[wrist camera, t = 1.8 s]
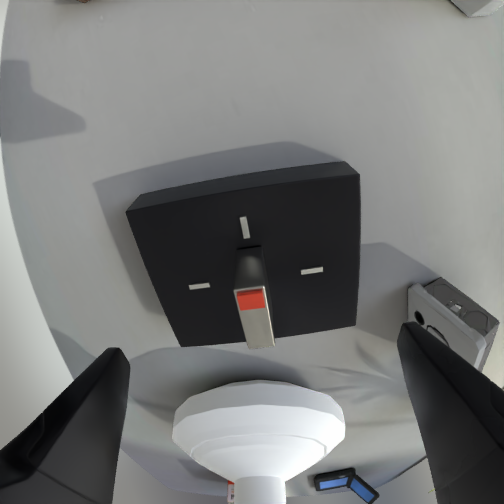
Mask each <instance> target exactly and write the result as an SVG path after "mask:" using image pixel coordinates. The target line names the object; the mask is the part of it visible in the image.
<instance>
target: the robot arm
mask: <svg viewBox="0 0 504 504" xmlns="http://www.w3.org/2000/svg"><path fill="white" fill-rule="evenodd" d="M397 347H398V352H399V356H400V360H401V364H402V369H403V373H404V378H405V383H406V387H407V390H408V394H409V397H410V400H411V403H412V406H413V409H414V412H415V416H416V419H417V422H418V426H419V429H420V433H421V436H422V440H423V443H424V447H425V451H426V454H427V458H428V462H429V466H430V470H431V474H432V478H433V483H434V488H435V491H436V498H437V503H438V504H504V391H503V390H502V389H501V388H500V387H498V386H497V385H496V384H495V383H494V382H492V381H490V379H489V378H487V377H486V376H485V375H484V374H482V373H481V372H480V371H479V370H477V369H476V368H475V367H474V366H472V365H471V364H470V363H469V362H467V361H466V360H465V359H464V358H462V357H461V356H460V355H459V354H457V353H456V352H455V351H454V350H452V349H451V348H450V347H448V346H447V345H446V344H445V343H443V342H442V341H441V340H439V339H438V338H437V337H435V336H434V335H433V334H432V333H430V332H429V331H428V330H426V329H425V328H424V327H422V326H421V325H420V324H418V323H417V322H415V321H411V322H406V323H403V324H402V326H401V330H400V333H399V337H398V340H397ZM129 378H130V364H129V362H128V360H127V358H126V357H125V355H124V353H123V352H122V350H121V349H120V348H116V347H110V348H107V349H106V350H105V351H104V352H103V353H102V354H101V355H100V356H99V357H98V358H97V359H96V360H95V361H94V362H93V363H92V364H91V365H90V366H89V367H87V368H86V369H85V370H84V371H83V372H82V373H81V374H80V375H79V376H78V377H77V378H76V379H75V380H74V381H73V382H72V383H71V384H70V385H69V386H68V387H67V388H66V389H65V390H64V391H63V392H62V393H61V394H60V395H59V396H58V397H57V398H56V399H55V400H54V401H53V402H52V403H51V404H50V405H49V406H48V407H47V408H46V409H45V410H44V411H43V413H41V414H40V415H39V416H38V417H37V418H36V419H35V420H34V421H33V422H32V423H31V424H30V425H29V426H28V427H27V428H26V429H24V430H23V431H22V432H21V433H20V434H19V435H18V436H17V437H15V438H14V439H13V440H12V441H10V442H9V443H8V444H7V445H6V446H5V447H3V448H2V449H1V450H0V504H112V500H113V491H114V483H115V475H116V467H117V461H118V455H119V448H120V442H121V436H122V431H123V425H124V420H125V414H126V408H127V399H128V388H129Z"/></svg>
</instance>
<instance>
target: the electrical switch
mask: <svg viewBox="0 0 504 504" xmlns="http://www.w3.org/2000/svg"><path fill="white" fill-rule="evenodd" d="M452 300H453V301H452ZM450 301H452V302H450ZM455 304H456V305H459V306H461V309H458V308H457V307H456V306H455ZM464 318H465V319H464ZM411 321H415V322H417V323H418V324H420V325H421V326H422V327H424V328H425V329H426V330H428V331H429V332H430V333H432V334H433V335H434V336H435V337H437V338H438V339H439V340H441V341H442V342H443V343H445V344H446V345H447V346H448V347H450V348H451V349H452V350H454V351H455V352H456V353H457V354H459V355H460V356H461V357H462V358H464V359H465V360H466V361H467V362H469V363H470V364H471V365H472V366H474V367H475V368H476V369H477V370H479V371H480V372H482V370H483V367H484V365H485V362H486V360H487V357H488V355H489V352H490V349H491V347H492V344H493V341H494V338H495V335H496V332H497V329H498V326H499V323H500V322H498V320H497V319H496V318H495V317H493V316H492V315H491V314H490V313H488V312H487V311H486V310H485V309H483V308H482V307H481V306H480V305H478V304H477V303H476V302H474V301H473V300H472V299H470V298H469V297H468V296H466V295H465V294H464V293H462V292H461V291H460V290H458V289H457V288H456V287H454V286H453V285H452V284H450V283H449V282H447V281H446V280H445V279H443V278H442V277H441V278H439V279H438V280H436V281H435V282H433V283H432V284H429V285H427V286H426V287H425V288H424V287H423V286H421V285H420V284H419V283H416V284H414V285H412V286H411V287H409V289H408V322H411ZM497 322H498V323H497ZM493 333H494V334H493Z"/></svg>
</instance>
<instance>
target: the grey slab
mask: <svg viewBox="0 0 504 504" xmlns="http://www.w3.org/2000/svg"><path fill="white" fill-rule="evenodd" d="M233 291H234V295H235V299H236V303H237V307H238V311H239V315H240V319H241V322H242V326H243V330H244V334H245V337H246V341H247V345H248V348H249V349H256V348H264V347H273V346H275V338H274V325H273V314H272V302H271V296H270V290H269V284H268V278H267V272H266V266H265V260H264V255H263V249H262V247H254V248H247V249H240V250H237V251H236V261H235V274H234V289H233Z"/></svg>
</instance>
